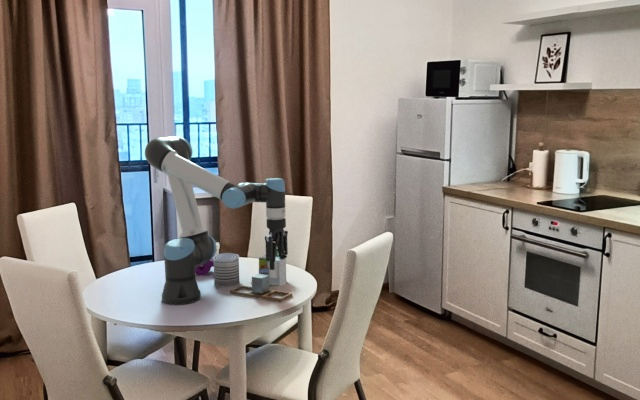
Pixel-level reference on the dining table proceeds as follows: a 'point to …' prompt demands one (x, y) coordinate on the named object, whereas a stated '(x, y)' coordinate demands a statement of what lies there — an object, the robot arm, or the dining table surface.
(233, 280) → the can
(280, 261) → the grey square block
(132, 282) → the dining table surface
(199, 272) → the mounting bracket
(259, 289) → the gray square block
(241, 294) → the wooden ladder rack
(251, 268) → the dining table surface
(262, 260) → the chalk box
